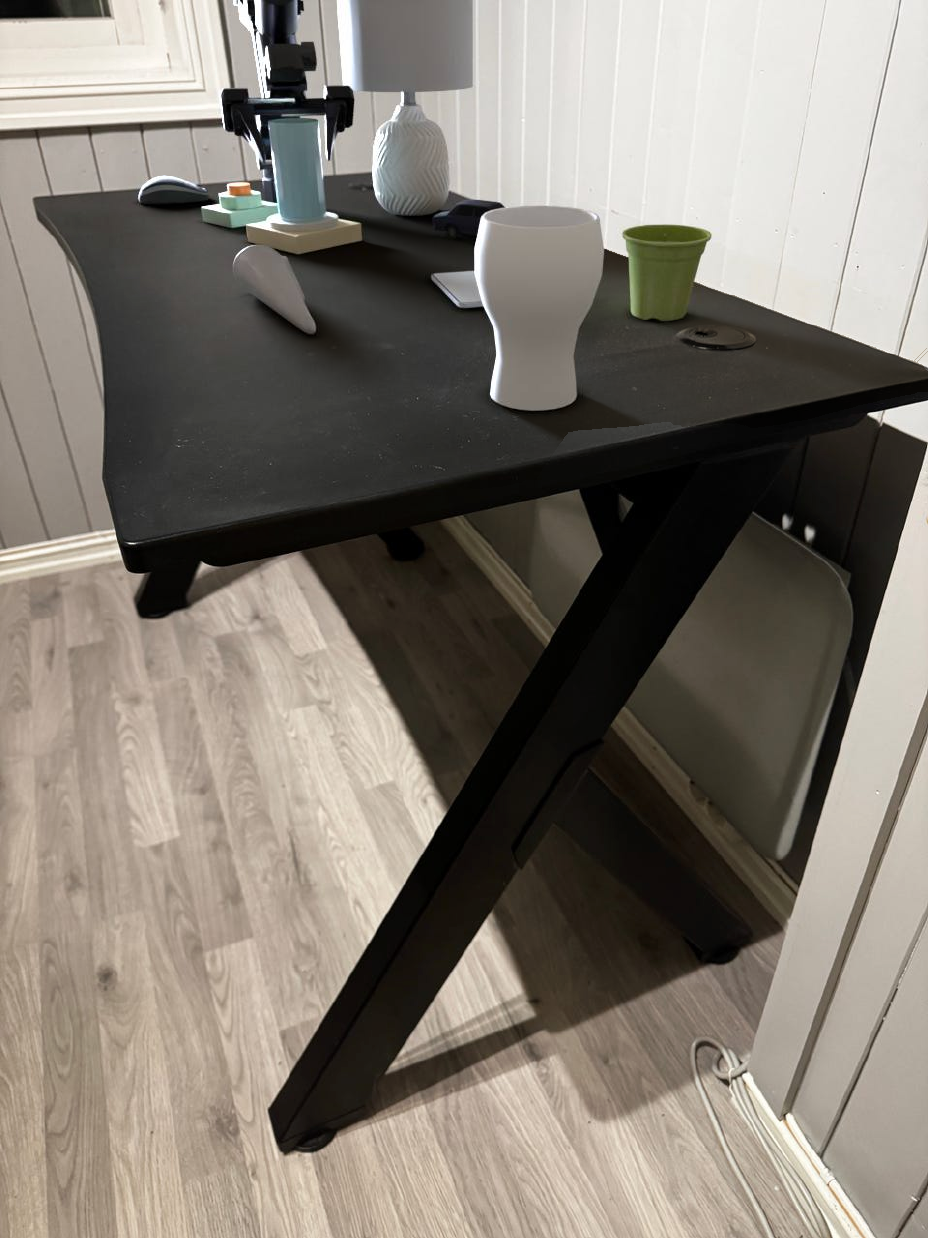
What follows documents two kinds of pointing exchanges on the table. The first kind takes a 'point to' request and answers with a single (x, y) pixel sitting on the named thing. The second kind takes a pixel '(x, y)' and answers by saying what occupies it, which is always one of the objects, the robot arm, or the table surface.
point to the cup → (537, 298)
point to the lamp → (408, 88)
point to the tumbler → (297, 169)
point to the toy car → (463, 217)
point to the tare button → (239, 189)
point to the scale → (304, 233)
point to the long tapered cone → (273, 284)
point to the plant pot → (663, 268)
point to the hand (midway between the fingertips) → (296, 159)
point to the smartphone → (460, 287)
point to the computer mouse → (171, 191)
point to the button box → (239, 210)
